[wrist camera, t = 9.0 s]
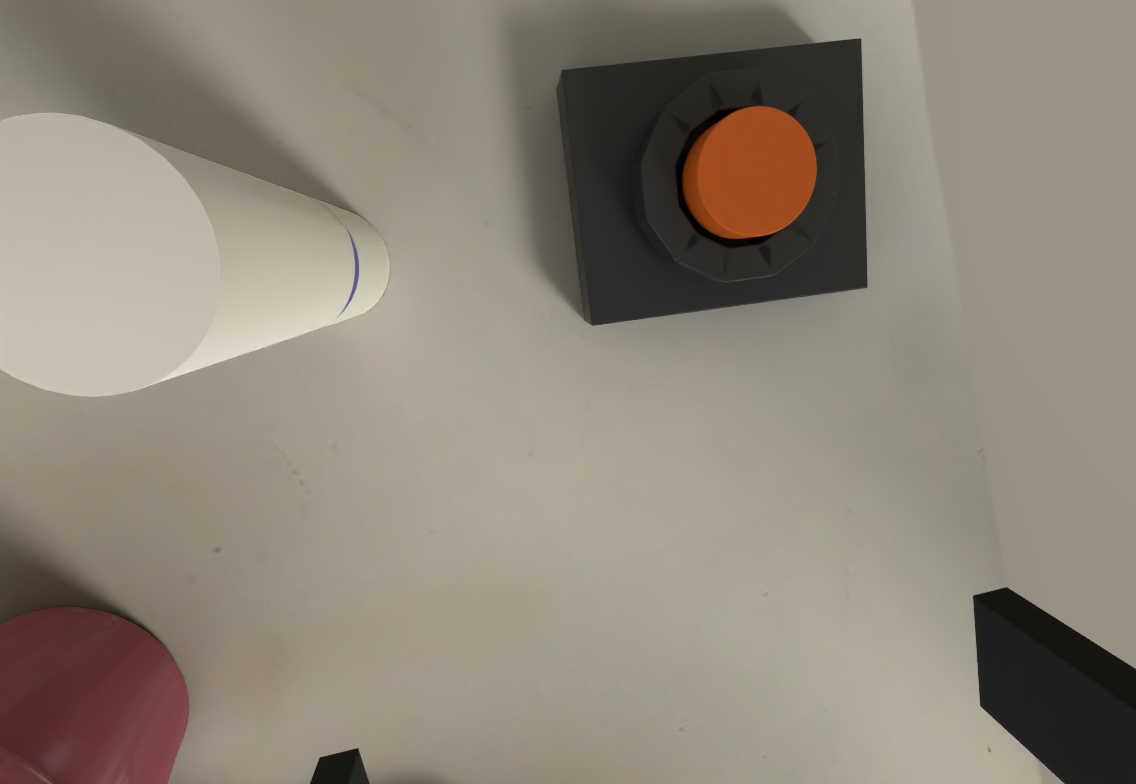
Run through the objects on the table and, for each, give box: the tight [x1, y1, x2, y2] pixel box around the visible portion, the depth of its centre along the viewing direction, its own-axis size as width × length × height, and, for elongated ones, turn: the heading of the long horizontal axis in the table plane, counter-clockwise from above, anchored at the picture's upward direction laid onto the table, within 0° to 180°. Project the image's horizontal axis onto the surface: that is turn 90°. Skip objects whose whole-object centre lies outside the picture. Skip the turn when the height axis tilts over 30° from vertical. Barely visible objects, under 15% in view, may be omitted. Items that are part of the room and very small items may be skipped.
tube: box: [0, 112, 390, 397], centre depth 17 cm, size 4×4×15 cm
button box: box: [557, 38, 867, 326], centre depth 23 cm, size 11×9×4 cm
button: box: [682, 106, 817, 239], centre depth 21 cm, size 4×4×2 cm
